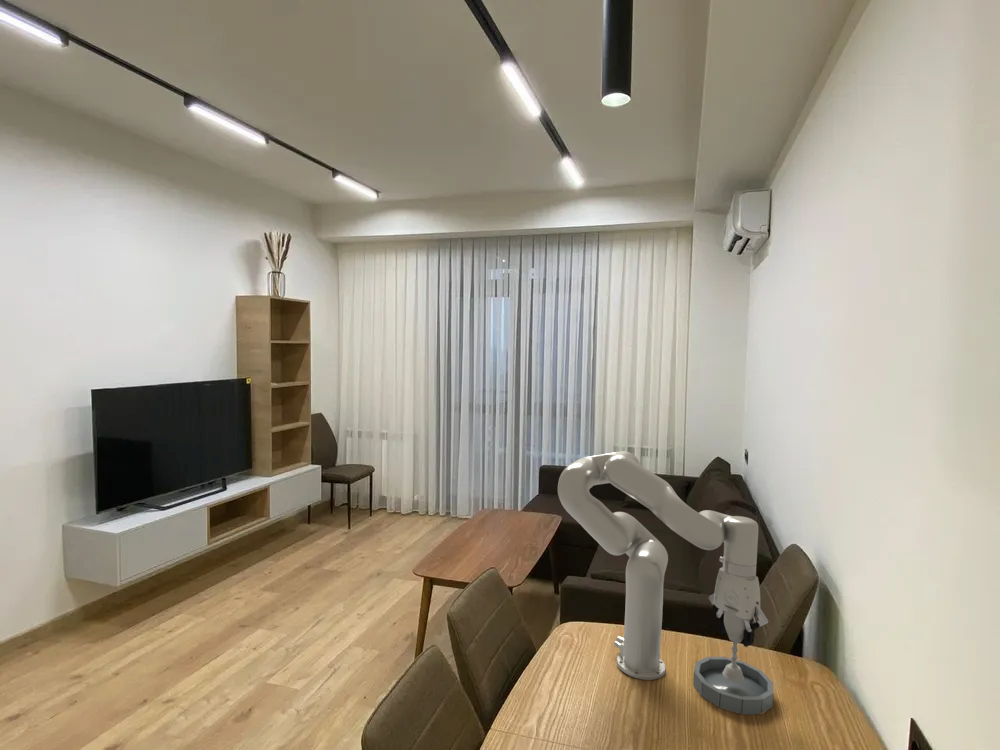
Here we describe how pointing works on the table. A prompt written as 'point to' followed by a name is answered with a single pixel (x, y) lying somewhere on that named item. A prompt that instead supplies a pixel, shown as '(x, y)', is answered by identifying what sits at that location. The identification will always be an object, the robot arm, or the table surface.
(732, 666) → the chalice
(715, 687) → the bowl
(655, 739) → the table surface
